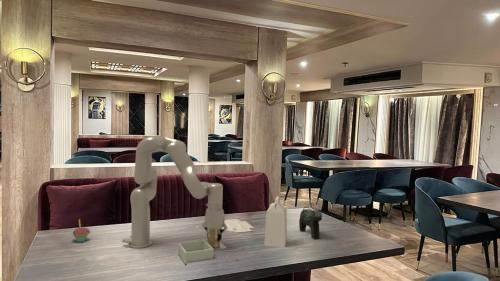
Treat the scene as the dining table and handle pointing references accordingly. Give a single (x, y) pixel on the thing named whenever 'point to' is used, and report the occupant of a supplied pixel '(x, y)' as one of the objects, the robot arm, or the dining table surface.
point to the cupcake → (80, 233)
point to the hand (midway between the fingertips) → (214, 239)
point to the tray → (237, 225)
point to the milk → (276, 225)
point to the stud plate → (219, 246)
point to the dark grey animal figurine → (310, 221)
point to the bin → (195, 255)
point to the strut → (213, 237)
